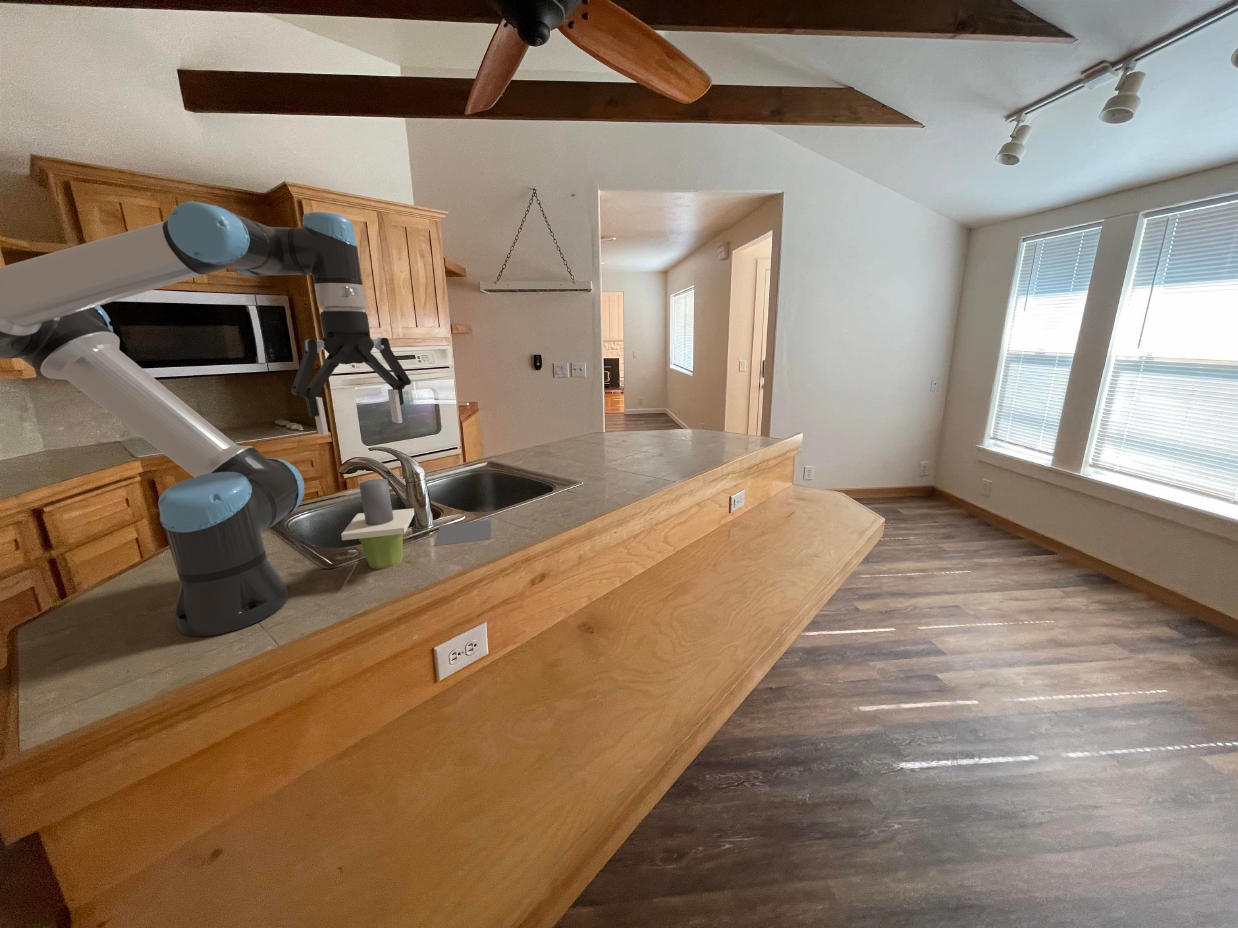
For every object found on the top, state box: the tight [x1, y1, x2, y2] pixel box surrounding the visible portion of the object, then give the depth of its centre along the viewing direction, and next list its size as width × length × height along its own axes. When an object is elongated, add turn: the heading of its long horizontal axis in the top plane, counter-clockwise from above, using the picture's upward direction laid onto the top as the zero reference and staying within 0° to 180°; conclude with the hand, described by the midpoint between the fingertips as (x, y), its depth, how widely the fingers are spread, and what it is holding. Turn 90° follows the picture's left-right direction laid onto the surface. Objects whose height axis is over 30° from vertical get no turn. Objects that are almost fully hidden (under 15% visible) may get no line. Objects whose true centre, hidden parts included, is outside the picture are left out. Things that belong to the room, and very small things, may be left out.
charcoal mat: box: [434, 519, 492, 547], centre depth 113 cm, size 12×12×1 cm
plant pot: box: [358, 534, 404, 570], centre depth 98 cm, size 9×9×9 cm
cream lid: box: [340, 478, 415, 541], centre depth 95 cm, size 11×11×9 cm
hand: (362, 427), depth 91 cm, fingers open, 13 cm apart
